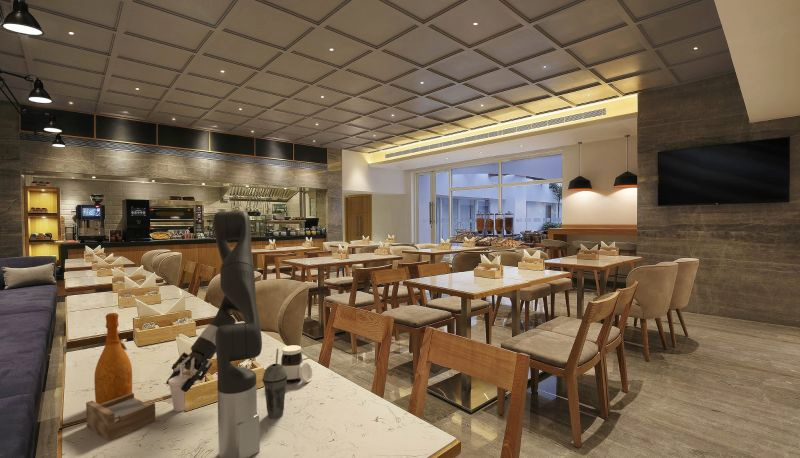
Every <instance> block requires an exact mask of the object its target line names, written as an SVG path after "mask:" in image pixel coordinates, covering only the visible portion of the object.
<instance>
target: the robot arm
mask: <svg viewBox="0 0 800 458" xmlns="http://www.w3.org/2000/svg"><path fill="white" fill-rule="evenodd" d="M212 219H213V220H212V226H213V227H212V228H213V234H214V237H215V242H216V245H217V248H218V252H219V256H220V260H221V265H220V269H219V272H220V273H219V274H220V275H219V276H220V277H219V279H220V280H219V284H220V289H221V291H222V293H223V294H224V295H223V298H222V300H221V304H220V305H219V308H218V310H217V312H216V315H215V316H214V318H212V320H211V321H210V323H209V324H208V325H207V327H205V328H204V330H203V331H202V332H201V334H200V335H199V336H198V337H197V338H196V340H195V341H194V343H192V345H191V347H190V351H191V352H190V353H189V354H188V353H187V352H183V353H182V354H181V355H180V356H179V357H178V358H177V360H176V361H175V363H174V364H173V365H172V366H171V369H172V373H171V375H170V376H169V377H168V379H167V380H166V385H168V386H169V387H170V385H169V384H168V383H169V382H168V381H169V379H171V378H173V377H175V376H179V375H180V365H182V374H184V373H186V372H188V371H189V373H190V374H189V375H190V378H188V379H187V380H186V382H185V383H184V385H183V386H182V387H181V390H182V391H184V392H187V391H188V390H189V391H190V389H191V388H192V386H193V385H194V384H195V383H196V382H197V381H199V382H201V381H202V380H203V379H204V377H205V376H206V374H207V373H208V372H209V370H210V368H211V367H212V365H213V363H212V362H211V359H213V357H214V356H215V357H216V365H217V366H216V367H217V370H216V373H217V383H216V384H217V389H216V390H217V423H218V424H217V435H218V438H217V439H218V457H219V458H251V457H252V456H254V455H255V454H256V455H257V453H259V452H260V449H261V447H260V446H261V445H260V444H261V443H260V437H261V436H260V415H259V414H258V405H257V404H258V403H257V401H258V400H257V399H258V398H257V393H258V391H257V374H256V371H254V370H252V368H245V367H240V366H238V365H235V364H233V363H232V362H237V361H243V360H248V359H254V358H258V357H259V356H260V355H261V352H262V348H263V339H262V331H261V323H260V318H259V311H258V304H257V296H256V295H257V294H256V292H257V291H256V277H255V268H254V260H253V252H252V224H251V218H250V215H249V214H248V212H247V211H243V210H233V211H232V210H231V211H221V212H219V211H218V212H215V214H214V215H213V218H212ZM231 240H233V241H235V240H237V243H236V245H235V246H234V248H233V249H232V248H231V247H230V245H229V243H228V241H231ZM232 310H233V311H235V312H237V313H241V315H242V317H243V318H244V321H245V322H238V323H237V321H236V319H235V317H234V316H233V315H231V311H232Z"/></svg>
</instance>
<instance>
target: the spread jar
mask: <svg viewBox="0 0 800 458" xmlns="http://www.w3.org/2000/svg"><path fill="white" fill-rule="evenodd" d="M281 353H282V355H281V357H280V365H282V366H283V367H284V368H285V369H286V372H287V381H286V384H287V383H289V384H290V383H291V384H292V383H297V382H298V381H301V382H302V383H305V384H306V383H310V382H311V381H312V378H313V368H312V366H311V365H310V363H308V362H303V354H302V353H303V352H302V346H300V345H296V344H295V345H293V344H292V345H287V346H286V345H285V346H284V347H283V348H282V351H281Z"/></svg>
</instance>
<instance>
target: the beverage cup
mask: <svg viewBox="0 0 800 458" xmlns="http://www.w3.org/2000/svg"><path fill="white" fill-rule="evenodd" d="M278 357H279V349H278V348H276V354H275V363H272V364H270V365H268V366H267V367H266V368H265V370H264V371H263V375H262V383H263V386H264V395H265V402H266V404H265V405H266V412H267V417H268V419H279V418H281V417H283V415H284V410H285V400H286V399H285V398H286V397H285V396H286V384H287V382H286V381H287V372H286V369H285V368H284V367H283V366H282V365H281V363H278V361H279V358H278Z"/></svg>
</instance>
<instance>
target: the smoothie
mask: <svg viewBox="0 0 800 458" xmlns="http://www.w3.org/2000/svg"><path fill="white" fill-rule="evenodd" d="M188 378H190V374H183V373H182V365H180V375H179V376H175V377H173V378H171V379H169V378H168V379H169V381H168V382H169V383H168V384H169V385H170V386H169V385H168V384H167V385H168V386H169V390H170V396H171V402H172V407H173V411H174V412H177V413H178V412H182V411H186V409H185V403H184V391H182V390H181V387H182V386H183V385H184V383H185V382H186V380H187V379H188Z"/></svg>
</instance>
